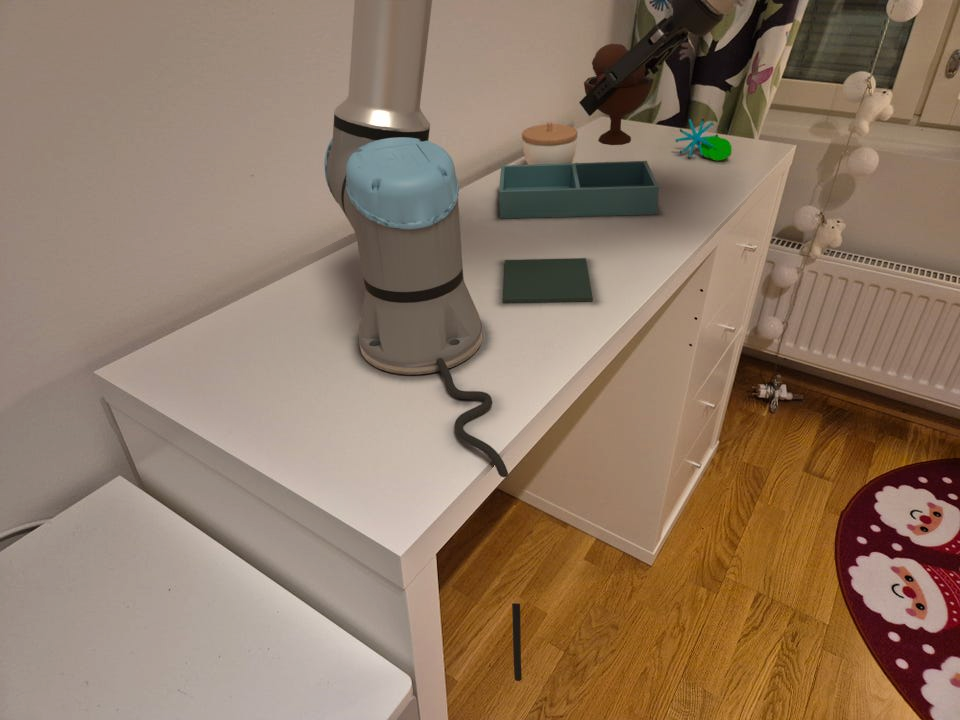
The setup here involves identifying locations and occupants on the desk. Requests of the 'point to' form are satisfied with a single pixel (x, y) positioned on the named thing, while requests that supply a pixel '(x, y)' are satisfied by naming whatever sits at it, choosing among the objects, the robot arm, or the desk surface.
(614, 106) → the ice cream bowl
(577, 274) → the mat
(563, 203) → the divided tray
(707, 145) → the stick construction toy
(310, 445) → the desk surface
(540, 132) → the trinket box
